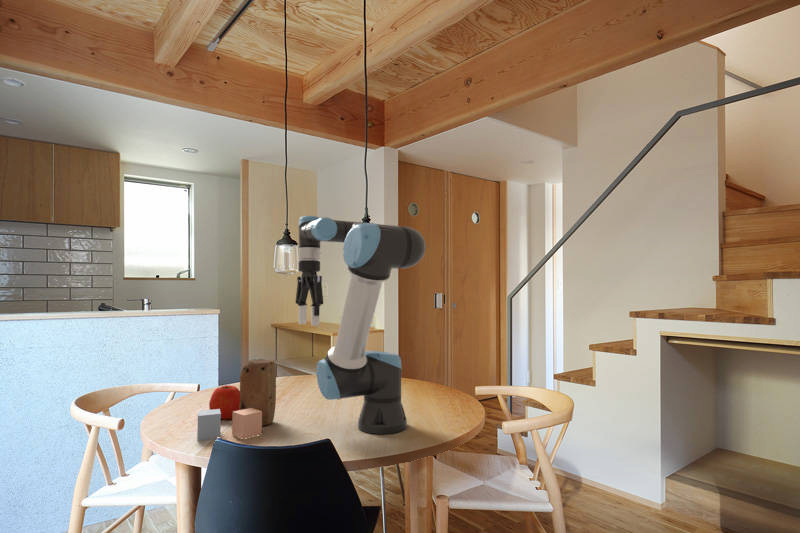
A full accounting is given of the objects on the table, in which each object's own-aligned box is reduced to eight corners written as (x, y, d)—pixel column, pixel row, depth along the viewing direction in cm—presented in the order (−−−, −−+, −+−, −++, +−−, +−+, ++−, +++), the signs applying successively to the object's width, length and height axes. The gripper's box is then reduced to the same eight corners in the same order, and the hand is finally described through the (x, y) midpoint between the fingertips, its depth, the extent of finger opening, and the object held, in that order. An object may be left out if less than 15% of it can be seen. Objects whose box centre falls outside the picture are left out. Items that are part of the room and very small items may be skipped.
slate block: (220, 438, 134) (220, 413, 134) (197, 441, 132) (198, 415, 132) (219, 432, 140) (219, 408, 140) (197, 435, 137) (197, 410, 138)
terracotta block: (261, 435, 137) (262, 411, 137) (242, 440, 132) (243, 415, 133) (250, 431, 141) (251, 407, 141) (232, 436, 136) (232, 411, 137)
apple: (209, 414, 160) (209, 383, 160) (242, 411, 163) (243, 380, 164) (208, 423, 150) (209, 389, 150) (243, 419, 153) (244, 386, 154)
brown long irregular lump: (277, 420, 152) (278, 358, 153) (270, 427, 145) (271, 362, 146) (244, 420, 153) (245, 358, 154) (235, 426, 145) (236, 361, 146)
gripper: (334, 259, 159) (333, 326, 158) (304, 262, 176) (304, 322, 174) (314, 258, 154) (313, 327, 153) (286, 261, 171) (285, 323, 170)
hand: (308, 324), depth 164 cm, fingers open, 9 cm apart
